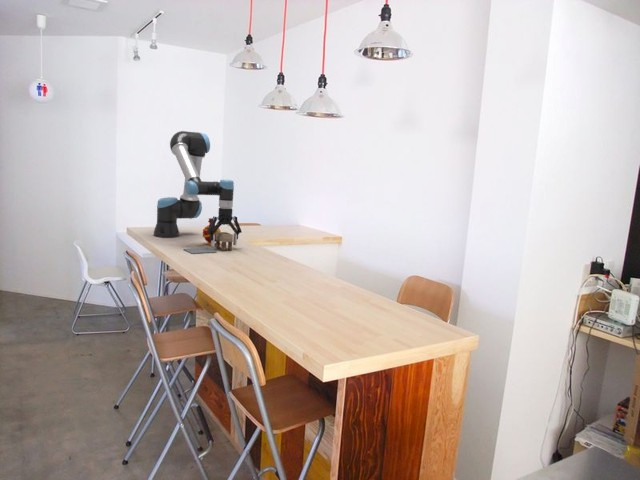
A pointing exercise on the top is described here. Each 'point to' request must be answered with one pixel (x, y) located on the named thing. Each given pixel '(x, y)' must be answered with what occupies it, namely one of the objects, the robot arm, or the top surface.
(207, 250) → the mat
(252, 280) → the top surface
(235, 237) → the robot arm
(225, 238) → the footstool
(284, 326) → the top surface
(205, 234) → the potion bottle
